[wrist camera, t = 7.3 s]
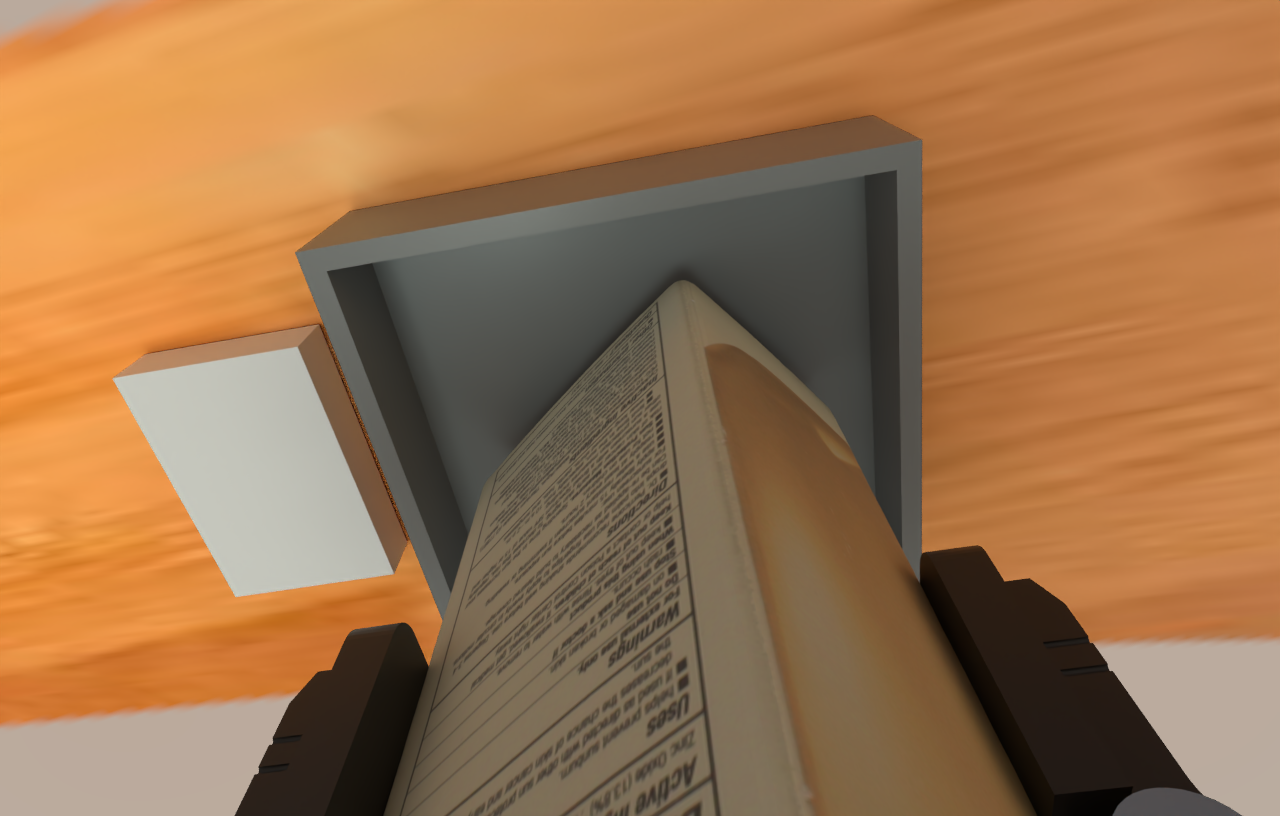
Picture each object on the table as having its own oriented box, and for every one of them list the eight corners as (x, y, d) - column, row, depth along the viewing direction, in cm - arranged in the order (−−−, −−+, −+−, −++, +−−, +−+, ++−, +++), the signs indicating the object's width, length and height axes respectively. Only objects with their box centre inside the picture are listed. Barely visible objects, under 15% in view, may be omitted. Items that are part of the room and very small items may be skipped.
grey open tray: (873, 115, 14) (922, 139, 12) (885, 543, 19) (921, 622, 17) (94, 257, 16) (-7, 307, 13) (290, 627, 21) (244, 713, 18)
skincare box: (632, 585, 17) (622, 1558, 7) (477, 478, 16) (140, 1490, 5) (850, 399, 15) (1386, 1422, 4) (691, 255, 14) (890, 1232, 3)
